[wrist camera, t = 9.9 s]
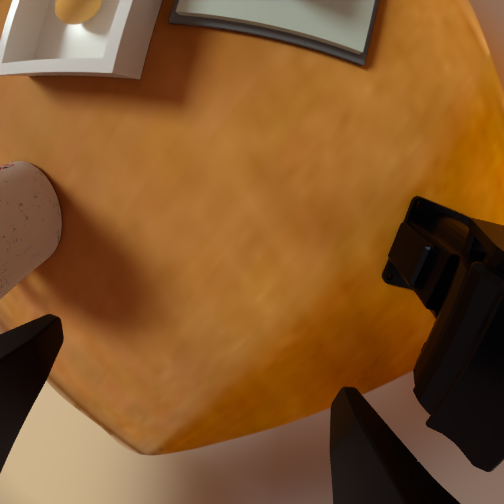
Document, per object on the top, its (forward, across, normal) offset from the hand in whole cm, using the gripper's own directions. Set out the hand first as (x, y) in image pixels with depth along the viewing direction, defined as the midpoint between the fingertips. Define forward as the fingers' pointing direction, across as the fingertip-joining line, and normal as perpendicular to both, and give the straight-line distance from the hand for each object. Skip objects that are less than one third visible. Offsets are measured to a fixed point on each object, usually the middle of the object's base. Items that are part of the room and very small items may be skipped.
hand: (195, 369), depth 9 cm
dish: (+13, +13, -13) cm, 22 cm away
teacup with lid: (+13, +18, +4) cm, 23 cm away
